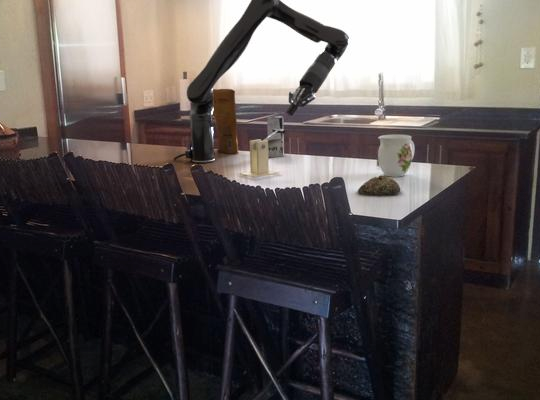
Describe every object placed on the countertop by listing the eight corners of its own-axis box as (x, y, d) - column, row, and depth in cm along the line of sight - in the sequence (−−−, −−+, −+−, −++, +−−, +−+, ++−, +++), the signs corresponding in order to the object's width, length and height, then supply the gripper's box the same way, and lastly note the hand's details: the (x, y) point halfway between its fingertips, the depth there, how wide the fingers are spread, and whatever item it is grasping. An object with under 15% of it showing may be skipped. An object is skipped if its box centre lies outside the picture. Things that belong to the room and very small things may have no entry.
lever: (275, 132, 234) (273, 126, 233) (286, 133, 229) (283, 128, 228) (252, 149, 230) (249, 144, 229) (262, 151, 225) (259, 145, 224)
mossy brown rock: (399, 197, 189) (399, 180, 188) (356, 195, 194) (356, 179, 193) (402, 187, 201) (402, 172, 199) (361, 186, 205) (362, 171, 204)
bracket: (264, 171, 237) (263, 137, 234) (279, 175, 229) (278, 140, 226) (239, 176, 231) (238, 141, 228) (254, 180, 224) (253, 143, 221)
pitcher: (426, 172, 220) (427, 132, 217) (392, 180, 211) (393, 139, 207) (400, 168, 229) (401, 130, 226) (366, 176, 220) (366, 136, 216)
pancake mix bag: (230, 155, 274) (228, 89, 268) (209, 150, 291) (206, 88, 284) (244, 153, 277) (241, 88, 271) (222, 148, 294) (219, 87, 287)
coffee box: (283, 157, 264) (282, 118, 260) (267, 157, 266) (266, 118, 262) (284, 153, 273) (283, 115, 269) (269, 153, 274) (268, 115, 270)
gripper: (296, 70, 239) (271, 106, 236) (321, 70, 228) (295, 108, 225) (307, 83, 243) (283, 119, 240) (332, 84, 231) (306, 122, 228)
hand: (289, 114), depth 232 cm, fingers closed
